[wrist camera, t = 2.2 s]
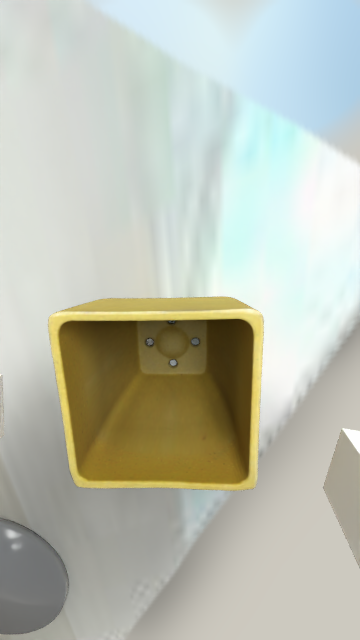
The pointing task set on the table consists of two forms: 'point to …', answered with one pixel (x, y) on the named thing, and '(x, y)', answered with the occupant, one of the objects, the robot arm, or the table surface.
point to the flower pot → (160, 392)
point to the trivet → (28, 580)
